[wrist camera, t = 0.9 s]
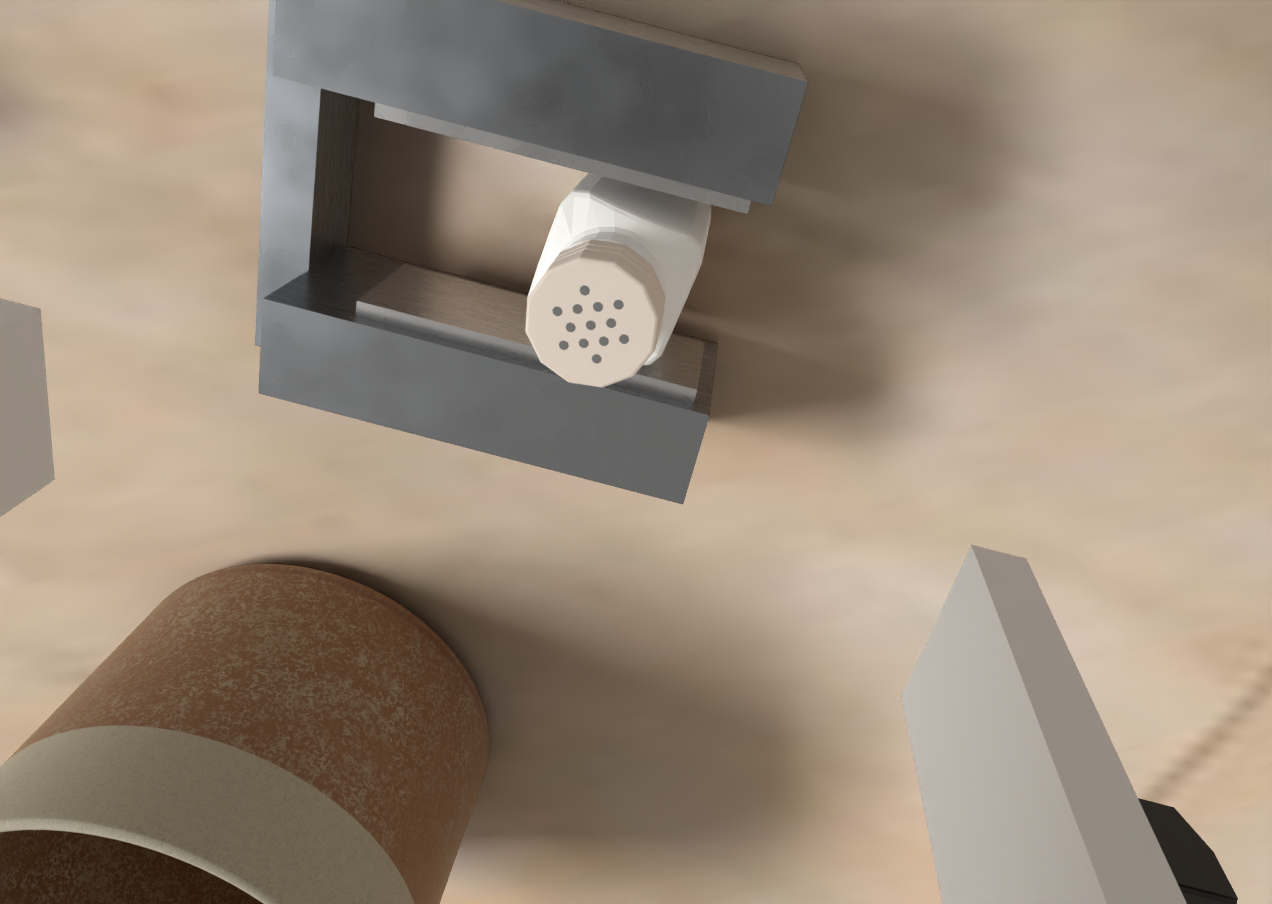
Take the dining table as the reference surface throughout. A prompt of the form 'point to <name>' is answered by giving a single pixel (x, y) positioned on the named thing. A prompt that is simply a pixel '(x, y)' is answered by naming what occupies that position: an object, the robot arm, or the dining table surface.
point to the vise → (470, 309)
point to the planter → (252, 755)
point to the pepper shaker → (613, 279)
